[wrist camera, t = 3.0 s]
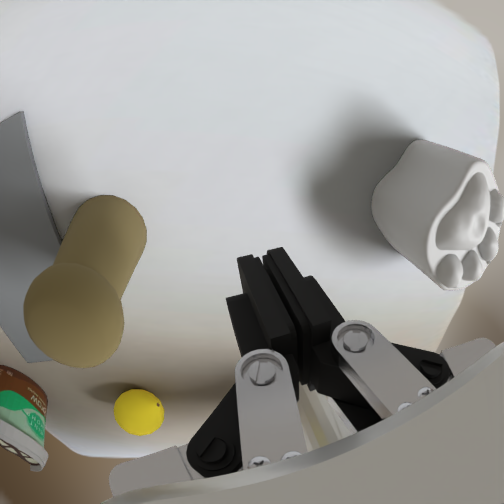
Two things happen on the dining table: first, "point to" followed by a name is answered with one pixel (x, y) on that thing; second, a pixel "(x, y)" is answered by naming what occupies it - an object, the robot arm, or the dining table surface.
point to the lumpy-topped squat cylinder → (441, 212)
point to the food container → (22, 417)
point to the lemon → (138, 412)
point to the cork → (86, 284)
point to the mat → (22, 233)
